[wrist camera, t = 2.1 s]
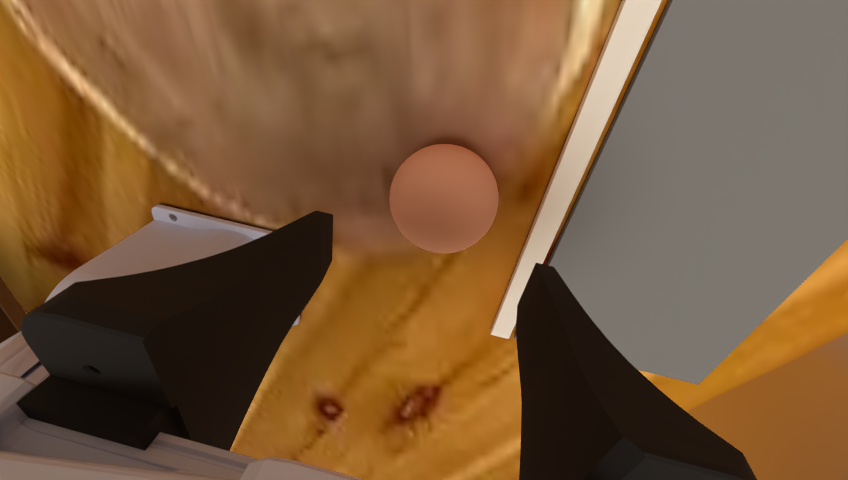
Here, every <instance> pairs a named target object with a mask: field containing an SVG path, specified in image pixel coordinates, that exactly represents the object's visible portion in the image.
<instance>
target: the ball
mask: <svg viewBox="0 0 848 480" xmlns="http://www.w3.org/2000/svg"><path fill="white" fill-rule="evenodd" d="M389 201H390V209H391V214H392V217H393V220H394V222H395V224H396V226H397V227H398V229H399V231H400V232H401V233H402V234H403V236H404V237H405V238H406V239H407V240H409V241H410V242H411V243H412V244H414V245H415V246H417V247H419V248H421V249H423V250H426V251H429V252H433V253H442V254H443V253H454V252H458V251H462V250H464V249H467V248H468V247H470V246H472V245H474V244H475V243H477V242H478V241H479V240H480V239H481V238H482V237H483V236H484V235H485V234H486V233H487V231H488V230H489V229H490V227H491V225H492V224H493V221H494V219H495V217H496V214H497V209H498V201H499V195H498V188H497V183H496V180H495V177H494V175H493V173H492V171H491V170H490V168H489V167H488V165H487V164H486V163H485V162H484V161H483V159H482V158H480V157H479V156H478V155H477V154H475V153H474V152H472V151H470V150H468V149H466V148H464V147H461V146H457V145H452V144H436V145H431V146H427V147H425V148H422V149H420V150H418V151H417V152H415V153H413V154H412V155H411V156H409V157H408V158H407V159H406V160H405V161H404V162H403V163H402V165H401V166H400V167H399V169H398V170H397V172H396V174H395V176H394V178H393V181H392V184H391V189H390V199H389Z"/></svg>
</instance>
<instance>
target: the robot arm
mask: <svg viewBox="0 0 848 480" xmlns="http://www.w3.org/2000/svg"><path fill="white" fill-rule="evenodd" d="M151 211H152V215H153V218H154V220H153V221H152V222H150V223H149V224H147V225H145V226H144V227H142V228H141V229H139V230H138V231H136V232H134V233H133V234H131V235H130V236H128V237H126V238H125V239H123V240H122V241H120V242H119V243H117V244H115V245H114V246H112V247H111V248H109V249H107V250H106V251H104V252H103V253H101V254H100V255H98V256H96V257H95V258H93V259H92V260H90V261H88V262H87V263H85V264H84V265H82V266H81V267H79V268H77V269H76V270H74V271H73V272H72V273H70V274H69V275H68V276H66V277H65V278H64V279H63V280H62V281H61V282H60V283H59V284H58V285H57V286H56V287H55V288H54V290H53V291H52V292H51V293H50V295H49V296H48V298H47V299H46V301H45V303H43V304H42V305H40V306H39V307H37V308H36V309H34V310H33V311H31V312H30V313H28V314H27V315H25V316H24V317H23V319H22V321H21V331H20V332H18V333H17V334H15V335H13V336H12V337H10V338H8V339H7V340H5V341H4V342H2V343H0V480H363V479H360V478H356V477H352V476H349V475H345V474H342V473H338V472H334V471H331V470H327V469H323V468H320V467H316V466H313V465H309V464H305V463H302V462H298V461H294V460H289V459H282V458H276V457H268V458H263V459H256V458H252V457H248V456H245V455H241V454H238V453H234V452H230V448H231V446H232V444H233V442H234V439H235V437H236V435H237V433H238V430H239V428H240V426H241V424H242V421H243V419H244V417H245V415H246V413H247V411H248V409H249V406H250V404H251V402H252V400H253V398H254V396H255V394H256V392H257V390H258V388H259V386H260V384H261V382H262V380H263V378H264V376H265V374H266V372H267V370H268V368H269V366H270V364H271V362H272V360H273V358H274V356H275V354H276V352H277V351H278V349H279V347H280V345H281V343H282V341H283V340H284V338H285V336H286V335H287V333H288V331H289V330H290V328H291V327H292V325H293V326H295V325H298V323H299V322H300V314H301V312H302V311H303V309H304V308H305V306H306V305H307V303H308V302H309V300H310V299H311V297H312V296H313V294H314V293H315V291H316V290H317V288H318V287H319V285H320V284H321V282H322V280H323V278H324V276H325V274H326V272H327V270H328V268H329V266H330V263H331V261H332V238H333V215H332V214H328V213H324V212H320V211H315V212H312V213H310V214H308V215H306V216H304V217H302V218H300V219H298V220H296V221H294V222H292V223H290V224H288V225H286V226H284V227H282V228H279V229H277V230H275V231H269V230H265V229H261V228H256V227H252V226H248V225H244V224H240V223H236V222H231V221H227V220H223V219H219V218H215V217H210V216H206V215H202V214H198V213H194V212H189V211H185V210H181V209H177V208H173V207H169V206H164V205H159V204H158V205H156V206H154V207H152V209H151ZM516 338H517V350H518V361H519V372H520V382H521V397H522V422H521V455H520V475H519V480H757V479H756V477H755V475H754V473H753V471H752V469H751V468H750V466H749V464H748V462H747V460H746V458H745V457H744V455H743V453H742V452H740V451H739V450H737V449H736V448H735V447H733V446H732V445H731V444H729V443H728V442H726V441H725V440H724V439H722V438H721V437H719V436H718V435H717V434H715V433H714V432H712V431H711V430H709V429H708V428H707V427H705V426H704V425H703V424H701V423H700V422H698V421H697V420H696V419H694V418H693V417H692V416H691V415H689V414H688V413H687V412H686V411H684V410H683V409H682V408H681V407H679V406H678V405H677V404H676V403H674V402H673V401H672V400H671V399H670V398H668V397H667V396H666V395H665V394H664V393H662V392H661V391H660V390H659V389H658V388H657V387H656V386H654V385H653V384H652V383H651V382H650V381H649V380H648V379H647V378H646V377H645V376H643V375H642V374H641V373H640V372H639V371H638V370H637V369H636V368H635V367H634V366H633V365H632V364H631V363H630V362H629V361H628V360H627V359H626V358H625V357H624V356H623V355H622V354H621V353H620V352H619V351H618V350H617V349H616V348H615V347H614V345H613V344H612V343H611V342H610V341H609V340H608V339H607V338H606V336H605V335H604V334H603V333H602V332H601V330H600V329H599V328H598V327H597V326H596V324H595V323H594V322H593V321H592V319H591V318H590V317H589V316H588V314H587V313H586V312H585V310H584V309H583V308H582V306H581V305H580V303H579V302H578V301H577V299H576V298H575V296H574V295H573V294H572V292H571V291H570V289H569V288H568V286H567V285H566V283H565V282H564V281H563V279H562V278H561V276H560V275H559V273H558V272H557V270H556V269H555V268H554V267H552V266H548V265H544V264H540V263H536V264H535V266H534V268H533V271H532V273H531V275H530V277H529V280H528V282H527V284H526V286H525V289H524V291H523V293H522V296H521V298H520V300H519V302H518V305H517V318H516Z"/></svg>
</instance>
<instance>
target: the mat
mask: <svg viewBox="0 0 848 480" xmlns="http://www.w3.org/2000/svg"><path fill="white" fill-rule="evenodd" d="M661 1H662V0H622V2H621V4H620V7H619V9H618V12H617V14H616V17H615V19H614V22H613V24H612V27H611V29H610V32H609V34H608V37H607V39H606V42H605V44H604V47H603V49H602V52H601V54H600V57H599V59H598V62H597V64H596V67H595V69H594V72H593V74H592V77H591V79H590V82H589V84H588V87H587V89H586V92H585V94H584V97H583V99H582V102H581V104H580V107H579V109H578V112H577V114H576V117H575V119H574V122H573V124H572V127H571V129H570V132H569V134H568V137H567V139H566V142H565V144H564V147H563V149H562V152H561V154H560V157H559V159H558V162H557V164H556V167H555V169H554V172H553V174H552V177H551V179H550V182H549V185H548V187H547V190H546V192H545V195H544V197H543V200H542V202H541V205H540V207H539V210H538V212H537V215H536V217H535V220H534V222H533V225H532V227H531V230H530V232H529V235H528V237H527V240H526V242H525V245H524V247H523V250H522V252H521V255H520V257H519V260H518V262H517V265H516V267H515V270H514V272H513V275H512V277H511V280H510V282H509V285H508V287H507V290H506V292H505V295H504V297H503V300H502V302H501V305H500V307H499V310H498V312H497V315H496V317H495V320H494V322H493V325H492V327H491V335H494V336H498V337H503V338H507V339H509V337H510V335H511V333H512V330H513V328H514V326H515V324H516V318H517V305H518V302H519V300H520V298H521V296H522V293H523V291H524V289H525V286H526V284H527V282H528V280H529V277H530V275H531V273H532V271H533V268H534V266H535V264H536V263H540V264H543V262H544V260H545V257H546V255H547V253H548V251H549V249H550V246H551V244H552V242H553V240H554V237H555V235H556V233H557V231H558V229H559V226H560V224H561V222H562V220H563V218H564V215H565V213H566V211H567V209H568V207H569V204H570V202H571V200H572V198H573V195H574V193H575V191H576V189H577V187H578V184H579V182H580V180H581V178H582V176H583V173H584V171H585V169H586V167H587V164H588V162H589V160H590V158H591V156H592V153H593V151H594V149H595V147H596V145H597V142H598V140H599V138H600V136H601V133H602V131H603V129H604V127H605V125H606V122H607V120H608V118H609V116H610V114H611V111H612V109H613V107H614V105H615V103H616V100H617V98H618V96H619V94H620V91H621V89H622V87H623V85H624V83H625V80H626V78H627V76H628V74H629V72H630V69H631V67H632V65H633V63H634V60H635V58H636V56H637V54H638V52H639V49H640V47H641V45H642V43H643V41H644V38H645V36H646V34H647V32H648V29H649V27H650V25H651V23H652V21H653V18H654V16H655V14H656V12H657V10H658V7H659V5H660V3H661ZM847 239H848V0H668V2H667V5H666V7H665V9H664V11H663V13H662V15H661V18H660V20H659V22H658V24H657V26H656V28H655V31H654V33H653V35H652V37H651V39H650V41H649V44H648V46H647V48H646V50H645V52H644V54H643V57H642V59H641V61H640V63H639V65H638V67H637V70H636V72H635V74H634V76H633V78H632V80H631V83H630V85H629V87H628V89H627V91H626V94H625V96H624V98H623V100H622V102H621V104H620V107H619V109H618V111H617V113H616V115H615V117H614V120H613V122H612V124H611V126H610V128H609V130H608V133H607V135H606V137H605V139H604V141H603V143H602V146H601V148H600V150H599V152H598V154H597V156H596V159H595V161H594V163H593V165H592V167H591V169H590V172H589V174H588V176H587V178H586V180H585V182H584V185H583V187H582V189H581V191H580V193H579V195H578V198H577V200H576V202H575V204H574V206H573V208H572V211H571V213H570V215H569V217H568V219H567V222H566V224H565V226H564V228H563V230H562V232H561V235H560V237H559V239H558V241H557V243H556V245H555V248H554V250H553V252H552V254H551V256H550V258H549V261H548V263H547V265H548V266H552V267H554V268H555V269H556V270H557V272H558V273H559V275H560V276H561V278H562V279H563V281H564V282H565V283H566V285H567V286H568V288H569V289H570V291H571V292H572V294H573V295H574V296H575V298H576V299H577V301H578V302H579V303H580V305H581V306H582V308H583V309H584V310H585V312H586V313H587V314H588V316H589V317H590V318H591V319H592V321H593V322H594V323H595V324H596V326H597V327H598V328H599V329H600V330H601V332H602V333H603V334H604V335H605V336H606V338H607V339H608V340H609V341H610V342H611V343H612V344H613V345H614V347H615V348H616V349H617V350H618V351H619V352H620V353H621V354H622V355H623V356H624V357H625V358H626V359H627V360H628V361H629V362H630V363H631V364H632V365H633V366H634V367H635V368H636V369H637V370H641V371H645V372H649V373H654V374H658V375H662V376H666V377H670V378H674V379H678V380H682V381H686V382H690V383H694V384H699V383H700V382H701V381H702V380H703V379H704V378H705V377H706V376H707V375H709V374H710V373H711V372H712V371H713V370H714V369H715V368H716V367H717V366H718V365H719V364H720V363H721V362H722V361H723V360H724V359H725V358H726V357H727V356H728V355H729V354H730V353H731V352H732V351H733V350H734V349H735V348H736V347H737V346H738V345H739V344H740V343H741V342H742V341H743V340H744V339H745V338H746V337H747V336H748V335H750V334H751V333H752V332H753V331H754V330H755V329H756V328H757V327H758V326H759V325H760V324H761V323H762V322H763V321H764V320H765V319H766V318H767V317H768V316H769V315H770V314H771V313H772V312H773V311H774V310H775V309H776V308H777V307H778V306H779V305H780V304H781V303H782V302H783V301H784V300H785V299H786V298H787V297H788V296H789V295H790V294H792V293H793V292H794V291H795V290H796V289H797V288H798V287H799V286H800V285H801V284H802V283H803V282H804V281H805V280H806V279H807V278H808V277H809V276H810V275H811V274H812V273H813V272H814V271H815V270H816V269H817V268H818V267H819V266H820V265H821V264H822V263H823V262H824V261H825V260H826V259H827V258H828V257H829V256H830V255H831V254H833V253H834V252H835V251H836V250H837V249H838V248H839V247H840V246H841V245H842V244H843V243H844V242H845V241H846V240H847ZM514 338H515V340H517V338H516V332H515V334H514Z"/></svg>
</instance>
